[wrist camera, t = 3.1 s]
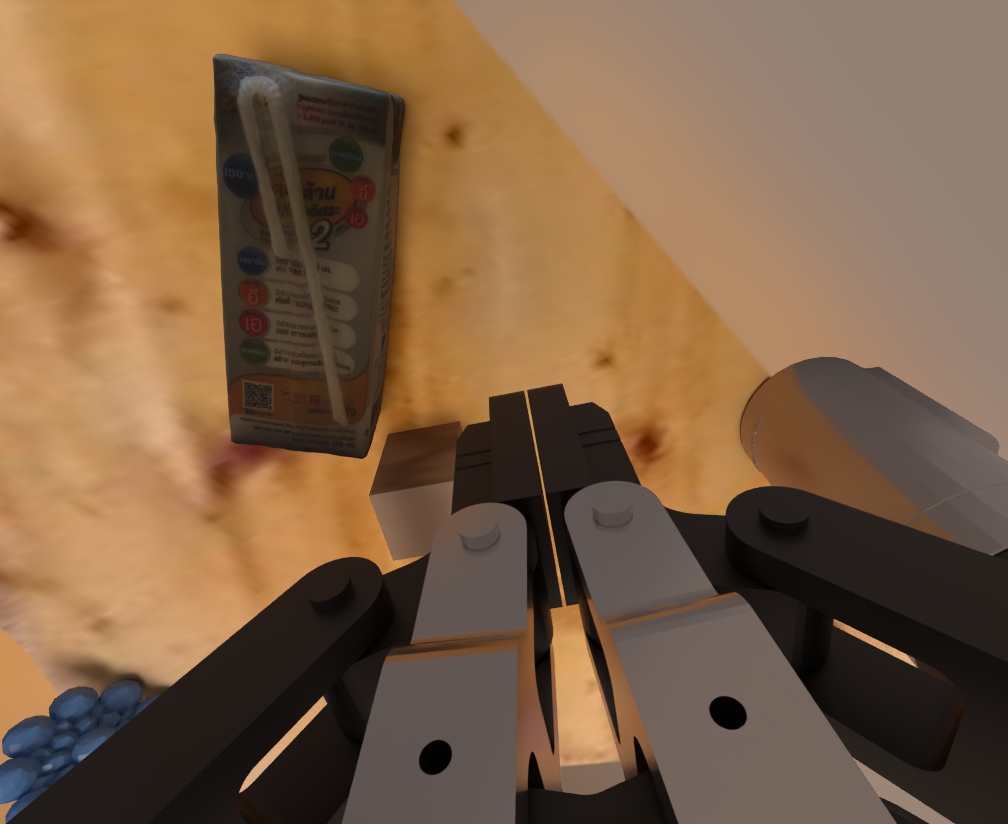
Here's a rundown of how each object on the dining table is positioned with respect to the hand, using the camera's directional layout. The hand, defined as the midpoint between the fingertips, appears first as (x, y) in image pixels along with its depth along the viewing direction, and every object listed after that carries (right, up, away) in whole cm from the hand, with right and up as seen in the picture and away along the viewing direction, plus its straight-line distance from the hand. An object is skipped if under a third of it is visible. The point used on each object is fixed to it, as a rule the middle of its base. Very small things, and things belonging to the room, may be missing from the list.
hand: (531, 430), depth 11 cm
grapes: (-34, -24, +37) cm, 56 cm away
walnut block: (-6, -3, +27) cm, 28 cm away
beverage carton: (-11, +9, +21) cm, 25 cm away
